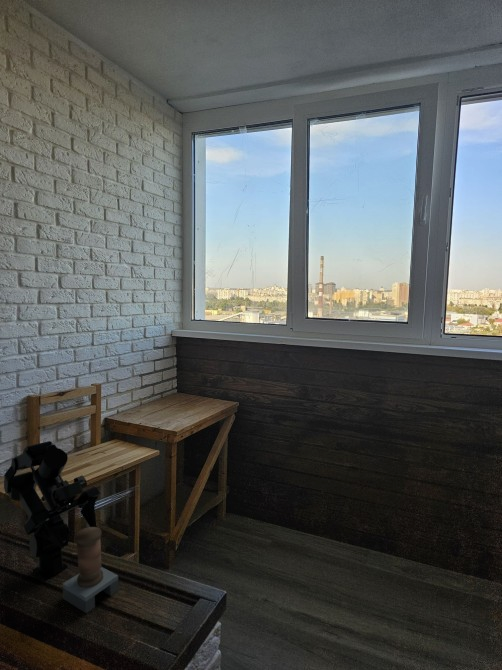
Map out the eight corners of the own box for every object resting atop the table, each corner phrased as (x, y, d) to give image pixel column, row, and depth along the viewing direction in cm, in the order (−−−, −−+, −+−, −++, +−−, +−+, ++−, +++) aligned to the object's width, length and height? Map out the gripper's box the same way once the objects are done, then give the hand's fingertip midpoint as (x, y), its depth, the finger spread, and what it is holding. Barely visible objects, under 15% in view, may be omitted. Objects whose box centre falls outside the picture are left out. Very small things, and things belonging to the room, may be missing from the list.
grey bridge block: (63, 598, 106) (62, 583, 105) (95, 577, 113) (95, 563, 113) (86, 613, 101) (85, 597, 100) (118, 590, 109) (118, 575, 108)
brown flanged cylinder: (72, 580, 106) (70, 534, 105) (95, 568, 111) (93, 524, 110) (85, 591, 103) (83, 543, 101) (107, 578, 107) (106, 532, 106)
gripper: (28, 483, 101) (58, 541, 96) (95, 457, 117) (124, 507, 112) (12, 506, 106) (40, 563, 101) (78, 478, 122) (105, 527, 117)
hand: (80, 538), depth 108 cm, fingers open, 9 cm apart
